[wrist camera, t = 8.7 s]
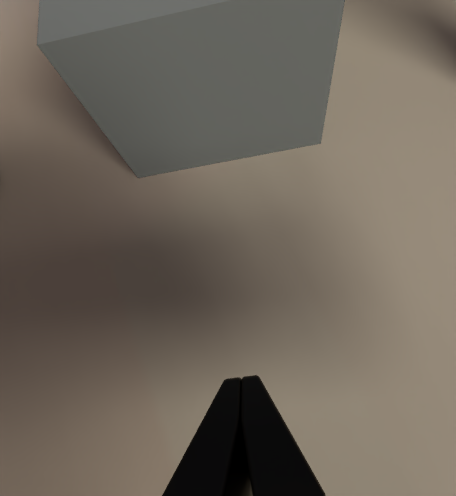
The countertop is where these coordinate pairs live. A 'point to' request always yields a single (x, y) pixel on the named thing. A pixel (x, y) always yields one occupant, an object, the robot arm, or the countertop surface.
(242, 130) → the gray block
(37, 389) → the countertop surface
